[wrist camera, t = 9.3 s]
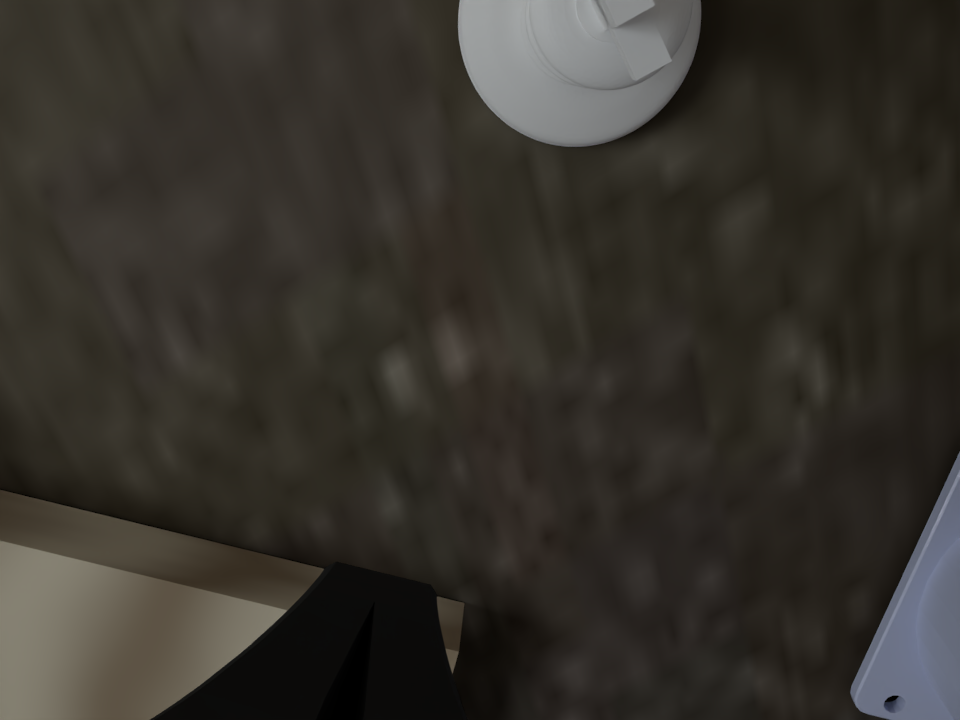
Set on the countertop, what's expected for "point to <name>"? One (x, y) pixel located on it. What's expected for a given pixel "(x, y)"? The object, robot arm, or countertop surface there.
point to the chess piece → (577, 63)
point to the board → (131, 612)
